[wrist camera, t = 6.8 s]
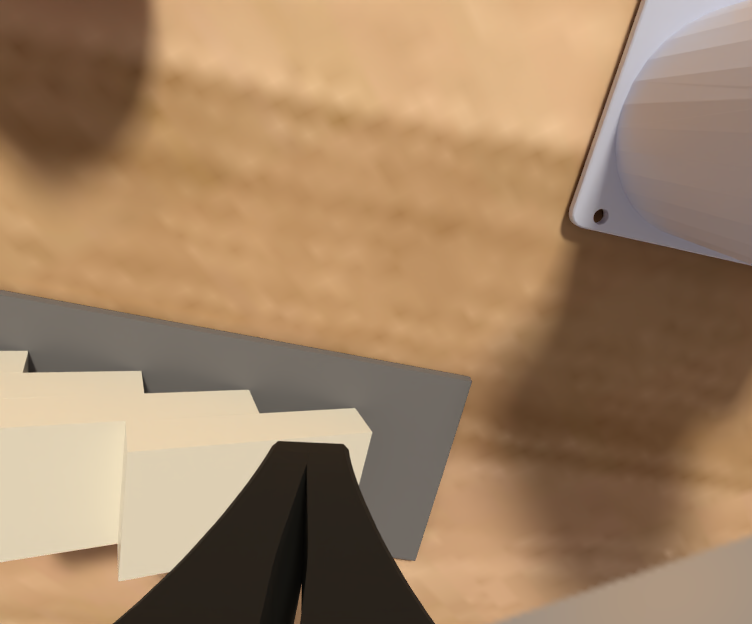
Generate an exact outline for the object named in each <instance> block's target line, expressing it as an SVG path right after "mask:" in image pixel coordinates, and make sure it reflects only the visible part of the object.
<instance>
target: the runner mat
mask: <svg viewBox="0 0 752 624" xmlns="http://www.w3.org/2000/svg"><path fill="white" fill-rule="evenodd" d="M0 351H28V373H37V372H99V371H141V372H142V380H143V387H144V393H171V392H198V391H226V390H249V391H250V393H251V395H252V398H253V400H254V402H255V404H256V407H257V409H258V411H259V413H275V412H293V411H311V410H329V409H347V408H355V409H356V410H357V411H358V413H359V414H360V416H361V417H362V418H363V420H364V421H365V423H366V424H367V425H368V427H369V428H370V430H371V431H372V436H371V440H370V444H369V447H368V451H367V455H366V459H365V463H364V467H363V471H362V475H361V479H360V483H359V488H360V490H361V493H362V495H363V498H364V500H365V503H366V505H367V507H368V509H369V511H370V513H371V516H372V518H373V520H374V522H375V524H376V527H377V529H378V531H379V533H380V535H381V537H382V539H383V540H384V542H385V544H386V546H387V548H388V550H389V552H390V553H391V555H392V557H393V558H398V559H405V560H412V561H415V560H416V557H417V553H418V550H419V547H420V544H421V541H422V538H423V534H424V531H425V528H426V525H427V522H428V519H429V516H430V512H431V509H432V506H433V503H434V500H435V497H436V494H437V490H438V487H439V484H440V481H441V478H442V475H443V471H444V468H445V465H446V462H447V459H448V456H449V453H450V449H451V446H452V443H453V440H454V437H455V434H456V430H457V427H458V424H459V421H460V418H461V415H462V412H463V408H464V405H465V402H466V399H467V396H468V393H469V389H470V386H471V383H472V380H471V378H470V377H468V376H463V375H458V374H452V373H447V372H441V371H436V370H431V369H425V368H420V367H414V366H409V365H404V364H398V363H393V362H387V361H382V360H377V359H371V358H366V357H360V356H355V355H350V354H344V353H339V352H333V351H328V350H323V349H317V348H312V347H306V346H301V345H295V344H290V343H285V342H279V341H274V340H268V339H263V338H258V337H252V336H247V335H241V334H236V333H231V332H225V331H220V330H214V329H209V328H204V327H198V326H193V325H187V324H182V323H177V322H171V321H166V320H160V319H155V318H149V317H144V316H139V315H133V314H128V313H122V312H117V311H112V310H106V309H101V308H95V307H90V306H85V305H79V304H74V303H68V302H63V301H58V300H52V299H47V298H41V297H36V296H31V295H25V294H20V293H14V292H9V291H4V290H0Z"/></svg>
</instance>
